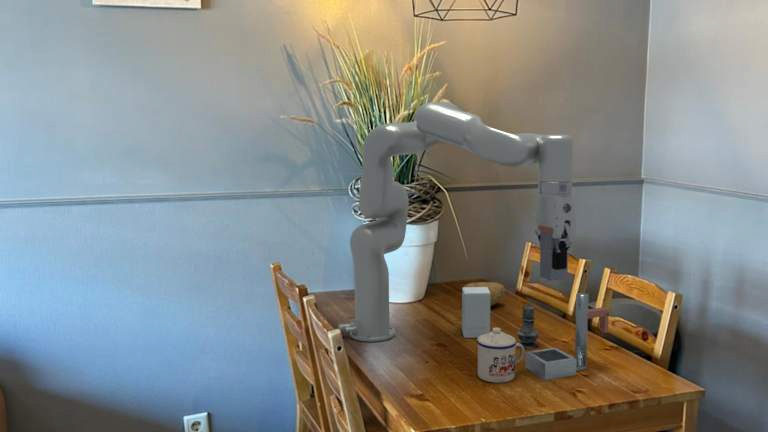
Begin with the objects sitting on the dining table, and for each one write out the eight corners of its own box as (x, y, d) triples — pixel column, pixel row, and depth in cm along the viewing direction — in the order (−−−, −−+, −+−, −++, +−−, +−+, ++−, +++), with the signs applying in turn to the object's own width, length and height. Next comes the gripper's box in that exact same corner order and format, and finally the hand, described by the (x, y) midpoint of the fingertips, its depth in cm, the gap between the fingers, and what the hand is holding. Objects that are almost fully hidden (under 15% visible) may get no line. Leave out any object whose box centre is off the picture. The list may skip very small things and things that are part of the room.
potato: (511, 308, 221) (511, 283, 220) (469, 313, 218) (469, 287, 216) (497, 300, 231) (497, 276, 230) (457, 304, 227) (457, 280, 226)
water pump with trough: (544, 380, 164) (546, 304, 161) (525, 367, 172) (526, 295, 169) (615, 368, 171) (618, 295, 168) (593, 357, 178) (595, 287, 176)
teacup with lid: (489, 386, 161) (489, 336, 159) (469, 372, 169) (469, 325, 167) (534, 378, 165) (535, 329, 164) (512, 365, 174) (513, 319, 172)
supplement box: (490, 338, 194) (491, 293, 192) (463, 338, 194) (463, 293, 192) (487, 329, 201) (488, 286, 199) (461, 329, 202) (461, 286, 200)
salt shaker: (539, 350, 184) (540, 305, 182) (516, 348, 185) (516, 304, 183) (538, 342, 190) (539, 299, 188) (516, 341, 191) (517, 298, 189)
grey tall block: (569, 279, 164) (570, 226, 162) (550, 281, 162) (551, 228, 160) (556, 274, 169) (557, 223, 167) (537, 276, 167) (538, 225, 165)
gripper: (591, 191, 156) (589, 272, 159) (548, 184, 171) (546, 258, 174) (562, 193, 153) (560, 276, 156) (521, 186, 169) (520, 261, 172)
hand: (553, 265), depth 165 cm, fingers closed on grey tall block, 4 cm apart
